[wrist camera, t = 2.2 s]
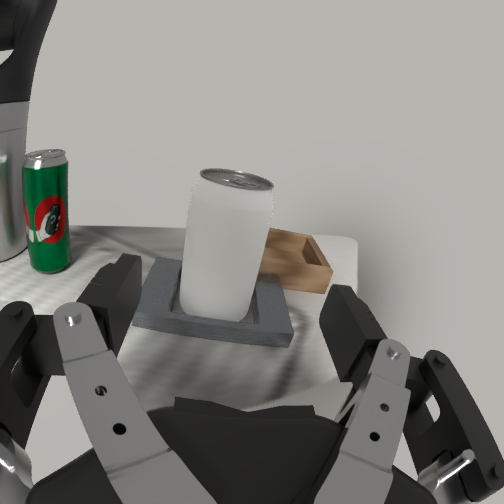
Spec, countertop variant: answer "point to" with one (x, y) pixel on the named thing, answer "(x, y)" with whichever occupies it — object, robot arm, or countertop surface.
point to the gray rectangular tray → (260, 333)
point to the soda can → (46, 209)
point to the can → (224, 243)
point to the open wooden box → (295, 261)
